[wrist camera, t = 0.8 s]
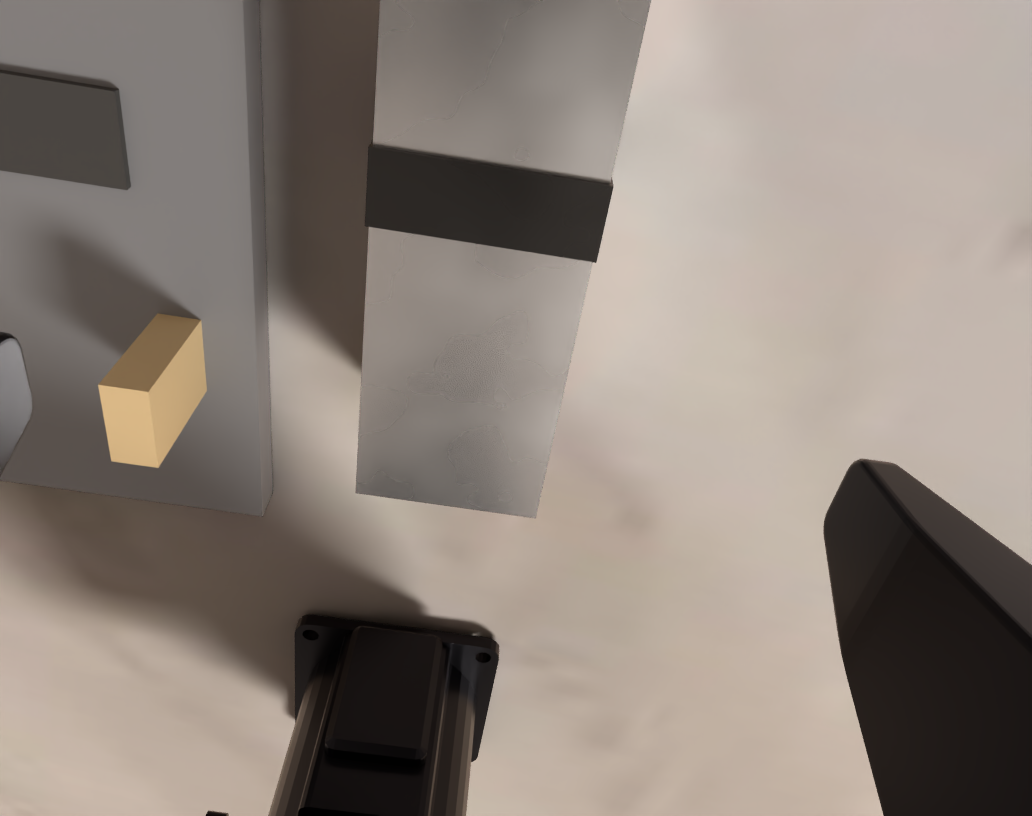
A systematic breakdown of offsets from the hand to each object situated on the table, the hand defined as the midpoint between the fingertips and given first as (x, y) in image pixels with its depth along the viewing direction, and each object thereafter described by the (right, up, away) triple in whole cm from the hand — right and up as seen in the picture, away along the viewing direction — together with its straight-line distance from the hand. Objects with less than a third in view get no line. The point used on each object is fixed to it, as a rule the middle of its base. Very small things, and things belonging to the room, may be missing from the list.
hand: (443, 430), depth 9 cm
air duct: (0, +6, +8) cm, 10 cm away
